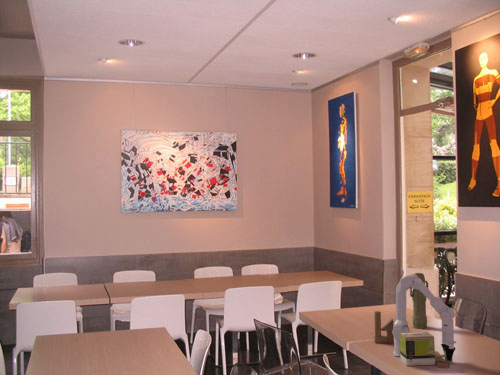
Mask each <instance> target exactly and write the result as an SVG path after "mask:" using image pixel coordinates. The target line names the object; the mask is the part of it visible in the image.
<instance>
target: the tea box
mask: <svg viewBox="0 0 500 375" xmlns="http://www.w3.org/2000/svg"><path fill="white" fill-rule="evenodd" d="M435 349H436V347H435V336H434V335H432V334H431V333H429V332H428V331H419V332H418V331H417V332H409V333H400V355H401V356H400V361H401V362H402V363H403V364H404V365H405V366H406V367H410V366H412V367H413V366H434V365H436V364H435V351H436V350H435Z"/></svg>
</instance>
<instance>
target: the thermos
mask: <svg viewBox="0 0 500 375" xmlns="http://www.w3.org/2000/svg"><path fill="white" fill-rule="evenodd" d="M414 274H416V275H417V276H418V277H419V278H420V279H421V280H422V282H423V283H424V284H425V285H426V287H427V288H428V289H429V282H428V281H427V280H426V277H425V275H424V273H423V272H422V273H421V272H414ZM412 287H413V286H412ZM412 287H410V288H409V297H411V300H412V308H413V309H412V310H413V311H412V313H413V314H412V328H414V329H417V330H425V329H427V328H428V326H427V325H428V316H427V307H426V305H427V297H426V296H425V295H424V294H423V293H422V292H421V291H419V290H418V289H413V288H412Z"/></svg>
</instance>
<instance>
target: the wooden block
mask: <svg viewBox="0 0 500 375" xmlns="http://www.w3.org/2000/svg"><path fill="white" fill-rule="evenodd" d="M381 315H382V312H381V311H379V310H377V311H376V310H375V311H374V336H373V337H374V338H373V340H374V343H375V344H394V336H393V334H392V331H393V329H394V318H393V317H391V318H390V319H389V320H388V321H387V322H386V323H385V324H384V325H383V326H382V318H381V317H382V316H381ZM382 332H386V335H382Z"/></svg>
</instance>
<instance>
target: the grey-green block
mask: <svg viewBox="0 0 500 375" xmlns="http://www.w3.org/2000/svg"><path fill="white" fill-rule="evenodd" d="M437 357H439V359H440V357H443V358H444V360H445V361H446V362H447V363H448V364H449V365H450V364H453V360H452V361H447V358H446V352H445V350H444V351H443V354H440V355H437Z"/></svg>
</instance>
